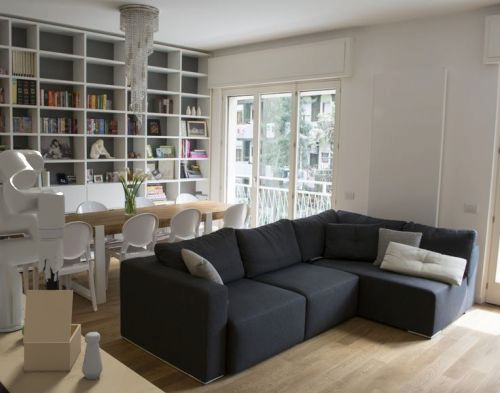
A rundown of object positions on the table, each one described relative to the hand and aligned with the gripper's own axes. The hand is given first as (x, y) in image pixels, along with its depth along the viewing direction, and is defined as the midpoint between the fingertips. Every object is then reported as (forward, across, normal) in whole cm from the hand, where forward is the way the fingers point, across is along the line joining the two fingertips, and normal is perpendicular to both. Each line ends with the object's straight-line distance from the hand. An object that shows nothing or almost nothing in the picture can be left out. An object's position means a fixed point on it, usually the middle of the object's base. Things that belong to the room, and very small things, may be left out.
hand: (52, 293), depth 146 cm
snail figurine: (+22, -20, -13) cm, 32 cm away
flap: (+6, +3, 0) cm, 7 cm away
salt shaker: (+23, +8, +13) cm, 27 cm away
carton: (+22, -2, 0) cm, 22 cm away
